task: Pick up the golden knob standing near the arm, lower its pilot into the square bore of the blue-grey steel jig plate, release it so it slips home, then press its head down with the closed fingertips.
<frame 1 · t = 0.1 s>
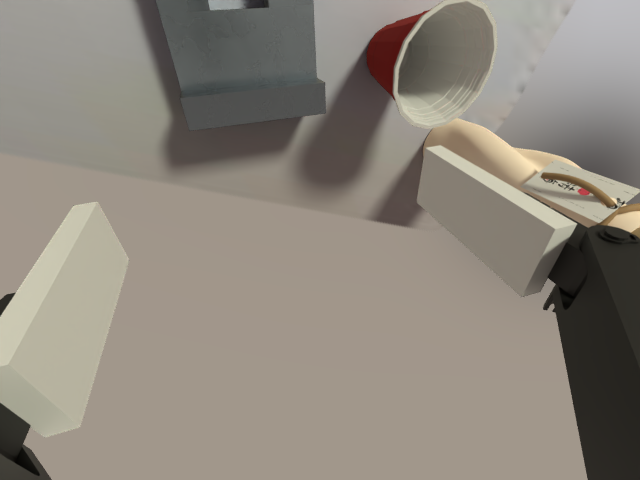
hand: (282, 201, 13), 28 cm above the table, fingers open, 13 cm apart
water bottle: (441, 141, 47), on the table
plastic cup: (388, 55, 38), on the table
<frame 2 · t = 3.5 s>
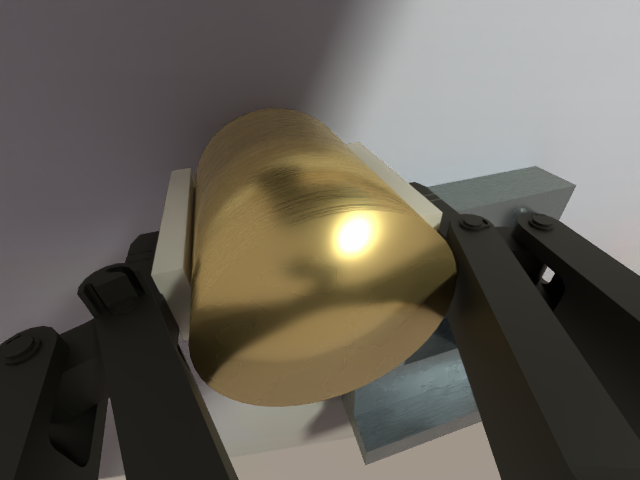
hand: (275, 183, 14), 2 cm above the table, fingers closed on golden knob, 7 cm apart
golden knob: (268, 166, 16), on the table, touching gripper
jig: (418, 308, 27), on the table
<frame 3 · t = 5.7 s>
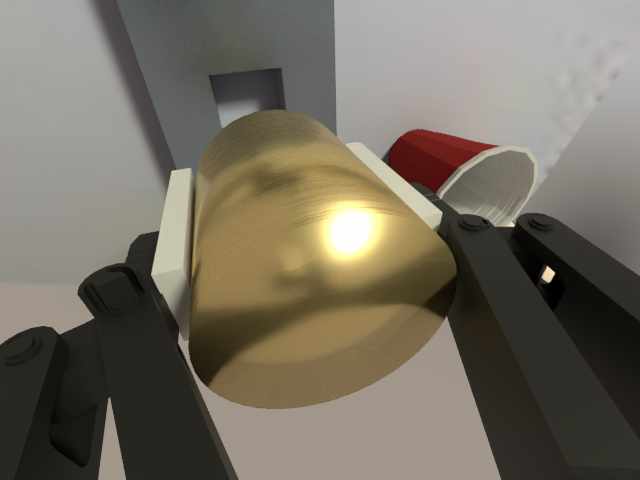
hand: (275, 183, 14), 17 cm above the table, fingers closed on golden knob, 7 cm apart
golden knob: (268, 167, 16), point 15 cm above the table, touching gripper
plastic cup: (411, 155, 36), on the table
jig: (248, 100, 27), on the table
when the fingers open (4 cm above the table, at t = 7.9 s): golden knob drops 1 cm, resting on jig.
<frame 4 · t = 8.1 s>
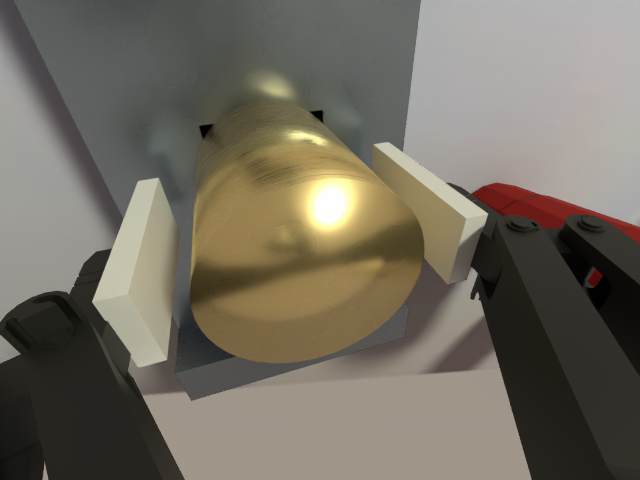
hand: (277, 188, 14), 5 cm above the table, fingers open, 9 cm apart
golden knob: (263, 156, 17), resting on jig
plastic cup: (481, 214, 26), on the table
jig: (262, 153, 18), on the table
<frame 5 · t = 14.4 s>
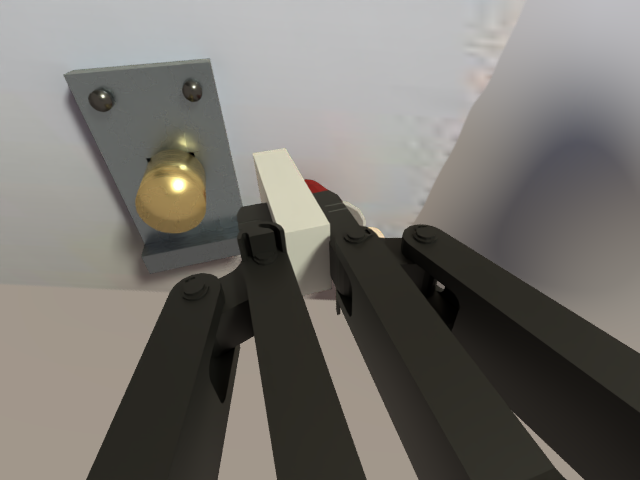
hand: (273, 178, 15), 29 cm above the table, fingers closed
golden knob: (178, 167, 41), resting on jig
plastic cup: (305, 196, 50), on the table
jig: (178, 166, 42), on the table
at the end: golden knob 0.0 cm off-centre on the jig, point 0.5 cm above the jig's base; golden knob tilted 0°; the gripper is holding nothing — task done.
